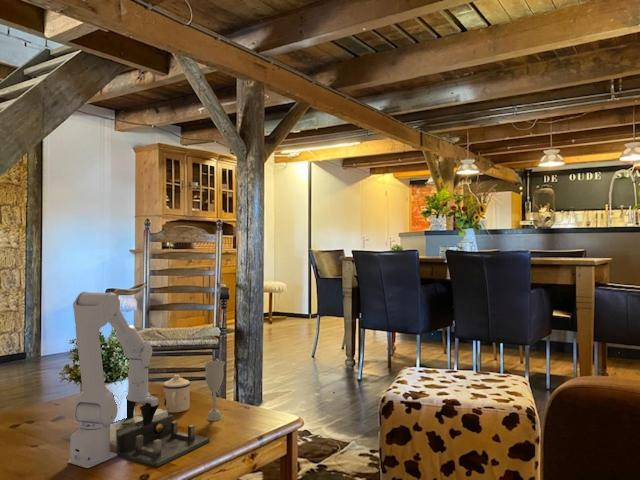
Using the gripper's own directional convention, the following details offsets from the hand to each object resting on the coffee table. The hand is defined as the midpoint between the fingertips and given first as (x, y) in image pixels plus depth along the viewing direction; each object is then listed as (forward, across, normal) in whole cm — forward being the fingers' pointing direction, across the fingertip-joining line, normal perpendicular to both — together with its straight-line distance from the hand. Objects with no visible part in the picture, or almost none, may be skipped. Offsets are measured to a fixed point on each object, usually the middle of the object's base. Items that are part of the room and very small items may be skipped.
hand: (138, 426), depth 160 cm
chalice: (+2, -11, -22) cm, 25 cm away
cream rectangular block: (+2, 0, 0) cm, 2 cm away
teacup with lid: (+2, +6, -22) cm, 23 cm away
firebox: (+2, -16, +5) cm, 17 cm away
